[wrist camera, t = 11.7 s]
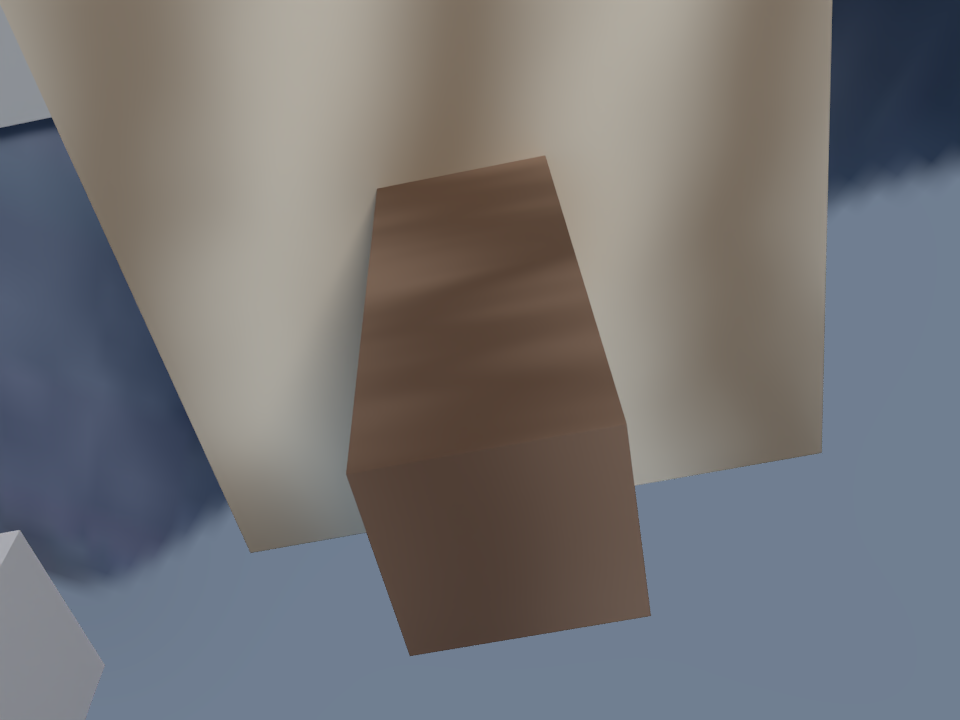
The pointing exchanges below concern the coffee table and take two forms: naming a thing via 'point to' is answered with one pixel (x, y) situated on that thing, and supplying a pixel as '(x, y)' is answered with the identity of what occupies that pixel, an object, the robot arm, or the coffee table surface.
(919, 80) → the coffee table surface
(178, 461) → the coffee table surface
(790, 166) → the board
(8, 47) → the mat
